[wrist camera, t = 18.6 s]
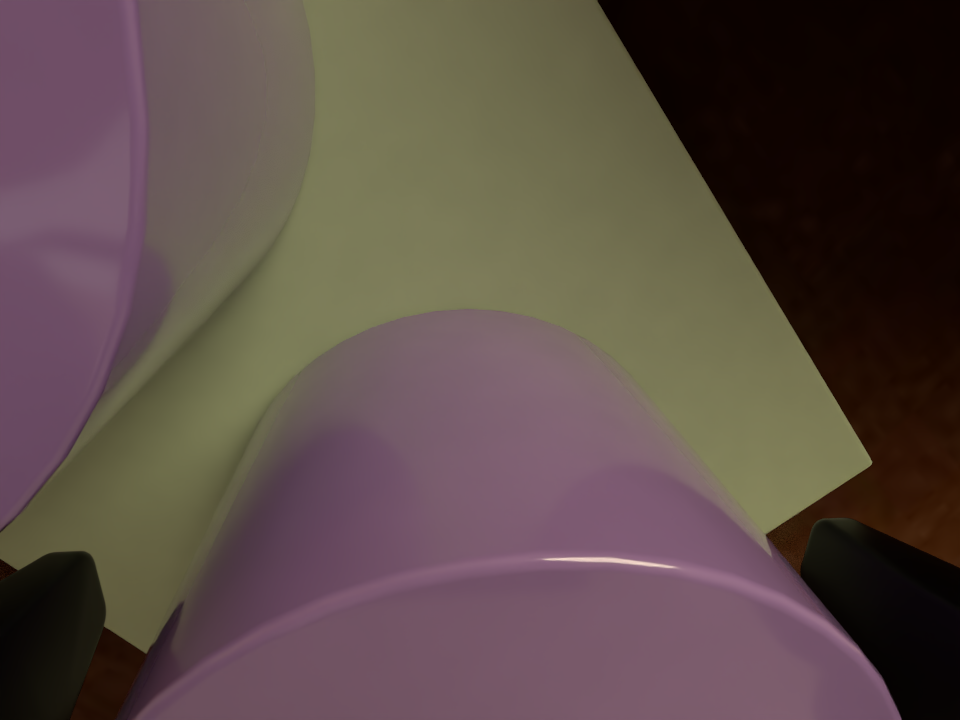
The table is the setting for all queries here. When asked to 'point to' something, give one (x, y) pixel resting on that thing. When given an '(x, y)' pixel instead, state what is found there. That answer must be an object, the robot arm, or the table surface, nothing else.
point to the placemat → (462, 277)
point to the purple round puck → (131, 198)
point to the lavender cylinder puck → (488, 554)
